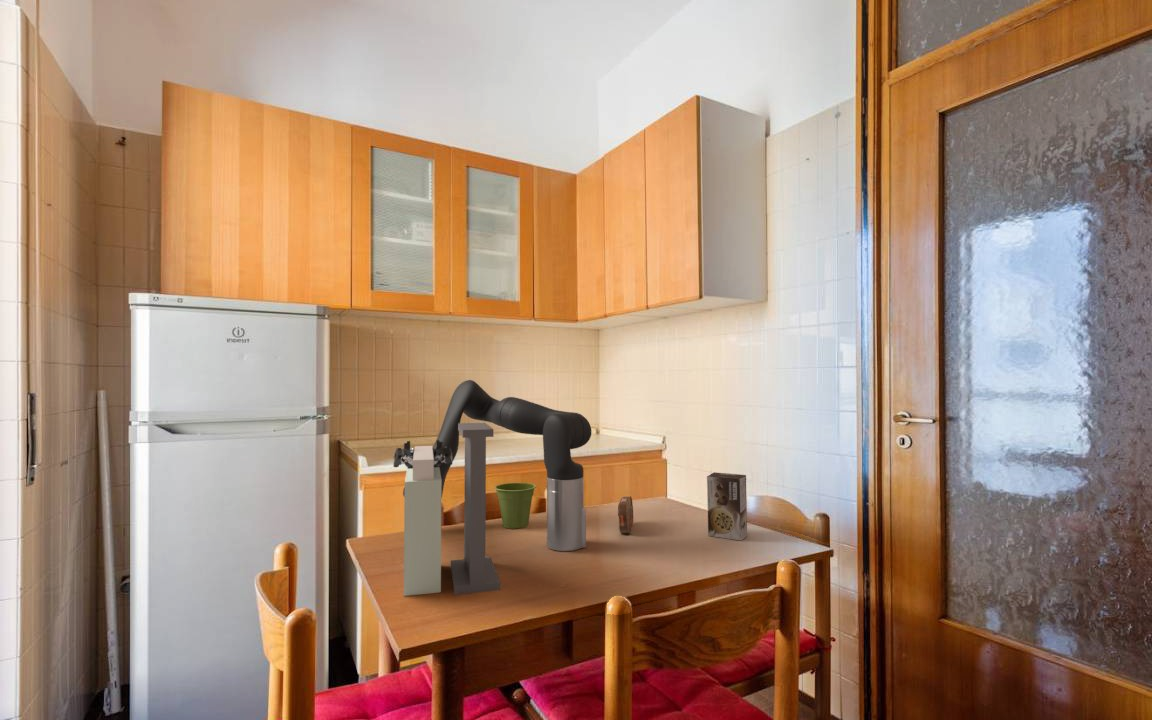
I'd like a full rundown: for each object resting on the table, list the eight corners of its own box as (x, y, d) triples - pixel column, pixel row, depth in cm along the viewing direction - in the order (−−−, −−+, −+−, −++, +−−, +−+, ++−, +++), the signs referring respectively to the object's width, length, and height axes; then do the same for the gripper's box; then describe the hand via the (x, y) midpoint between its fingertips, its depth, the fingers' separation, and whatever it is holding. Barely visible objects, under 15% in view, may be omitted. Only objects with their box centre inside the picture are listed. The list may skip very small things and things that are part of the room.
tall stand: (491, 563, 125) (491, 422, 126) (500, 589, 109) (500, 429, 110) (450, 567, 122) (451, 423, 123) (454, 594, 107) (455, 430, 108)
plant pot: (536, 520, 162) (536, 481, 163) (535, 531, 151) (535, 490, 151) (496, 520, 162) (496, 482, 162) (492, 532, 150) (492, 490, 150)
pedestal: (438, 565, 124) (439, 467, 124) (440, 592, 108) (441, 480, 109) (406, 568, 122) (407, 468, 122) (403, 596, 106) (404, 482, 107)
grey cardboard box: (748, 535, 147) (747, 474, 147) (741, 541, 141) (740, 478, 142) (714, 530, 152) (714, 471, 152) (706, 535, 146) (706, 475, 147)
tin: (628, 537, 145) (628, 505, 145) (616, 536, 146) (616, 505, 146) (634, 522, 160) (634, 493, 160) (623, 522, 160) (623, 493, 161)
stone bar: (432, 462, 131) (432, 445, 131) (433, 479, 109) (433, 459, 110) (414, 463, 130) (414, 446, 130) (412, 480, 108) (412, 460, 108)
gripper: (393, 458, 137) (390, 429, 124) (452, 455, 141) (455, 428, 128) (392, 487, 134) (389, 461, 120) (452, 483, 138) (456, 458, 124)
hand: (423, 444), depth 124 cm, fingers open, 6 cm apart
